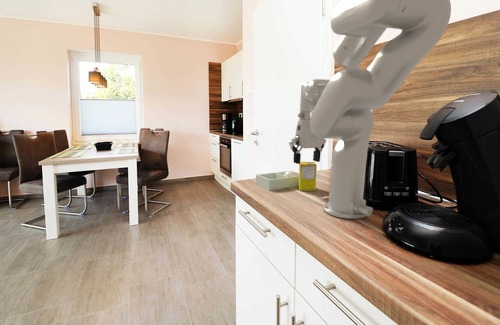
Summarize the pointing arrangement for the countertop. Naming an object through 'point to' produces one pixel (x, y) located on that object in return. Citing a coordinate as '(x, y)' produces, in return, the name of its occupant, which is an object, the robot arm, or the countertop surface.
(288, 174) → the egg
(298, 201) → the countertop surface
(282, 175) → the tray
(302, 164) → the supplement box
